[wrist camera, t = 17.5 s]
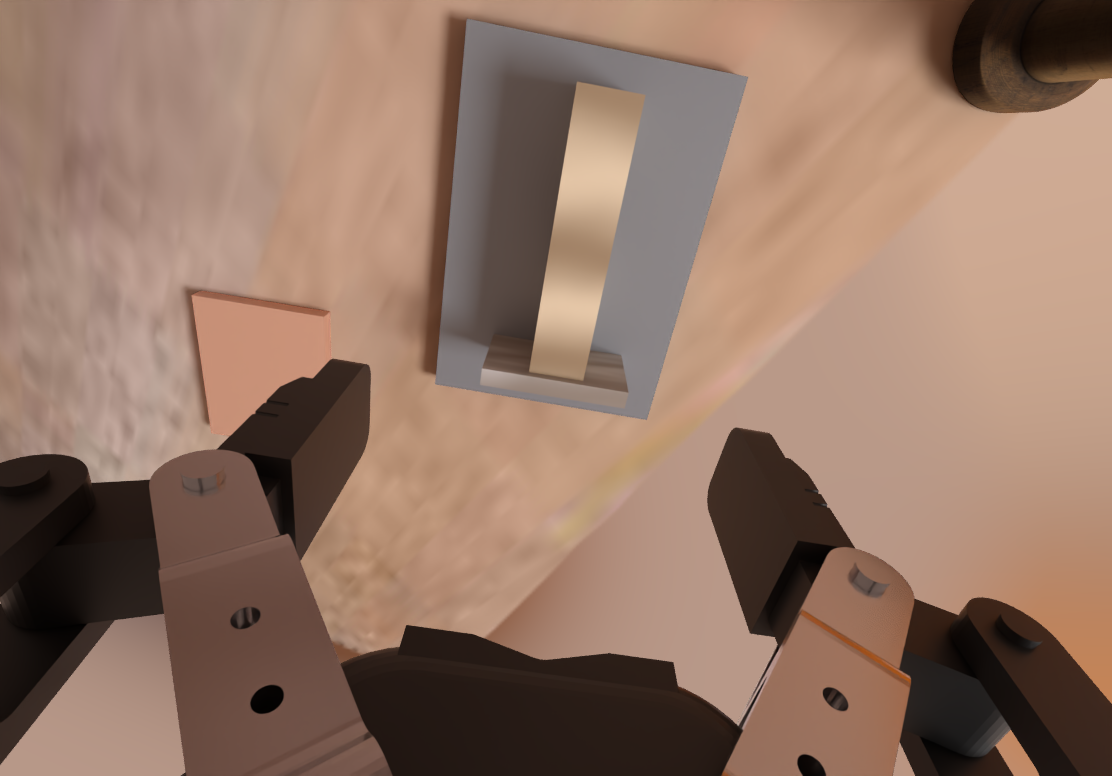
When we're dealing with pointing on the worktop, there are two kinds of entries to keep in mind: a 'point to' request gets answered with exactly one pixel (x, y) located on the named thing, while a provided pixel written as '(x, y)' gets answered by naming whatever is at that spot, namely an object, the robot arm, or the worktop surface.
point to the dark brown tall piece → (1032, 52)
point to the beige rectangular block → (577, 261)
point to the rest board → (532, 191)
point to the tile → (254, 352)
